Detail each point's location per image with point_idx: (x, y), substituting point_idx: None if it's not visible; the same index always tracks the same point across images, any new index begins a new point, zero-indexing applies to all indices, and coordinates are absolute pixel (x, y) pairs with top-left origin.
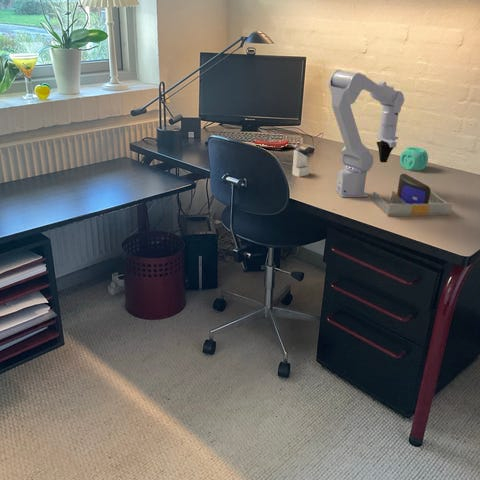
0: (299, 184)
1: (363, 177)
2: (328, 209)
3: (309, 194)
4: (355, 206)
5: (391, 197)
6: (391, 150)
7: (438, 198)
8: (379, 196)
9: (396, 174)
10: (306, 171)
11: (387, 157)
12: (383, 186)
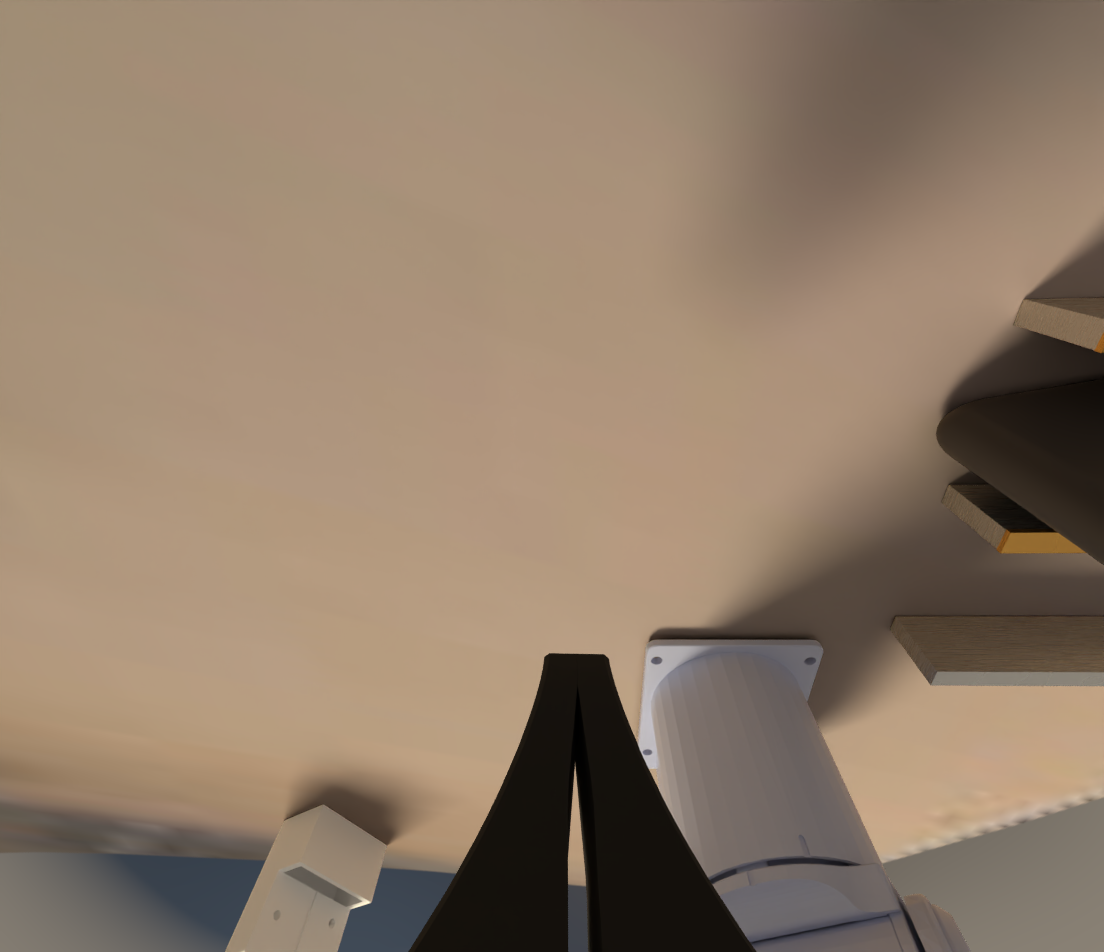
0: None
1: (864, 826)
2: (935, 836)
3: None
4: (954, 735)
5: (962, 516)
6: (725, 906)
7: None
8: (1053, 675)
9: (57, 103)
10: (333, 843)
11: (625, 734)
12: (570, 442)
